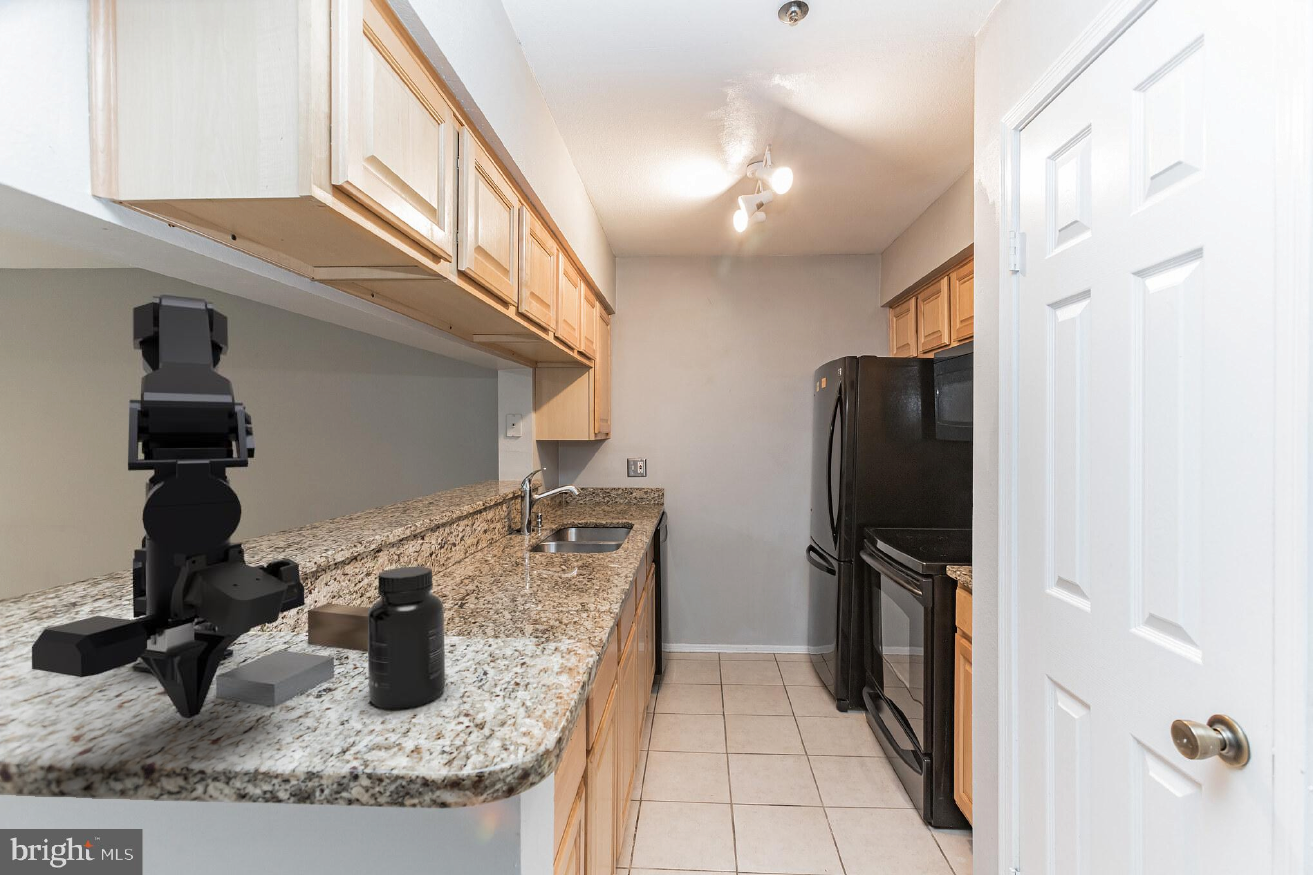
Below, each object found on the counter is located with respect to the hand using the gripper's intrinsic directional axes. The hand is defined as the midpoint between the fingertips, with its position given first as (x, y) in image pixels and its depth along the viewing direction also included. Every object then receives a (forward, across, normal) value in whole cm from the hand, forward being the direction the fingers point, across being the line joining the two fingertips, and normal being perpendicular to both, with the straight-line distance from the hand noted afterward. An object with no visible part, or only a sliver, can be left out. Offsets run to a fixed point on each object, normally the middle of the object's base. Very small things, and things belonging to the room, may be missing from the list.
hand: (190, 715), depth 52 cm
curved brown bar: (+1, +20, 0) cm, 21 cm away
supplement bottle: (+1, +11, -14) cm, 17 cm away
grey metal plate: (+1, +8, 0) cm, 9 cm away
